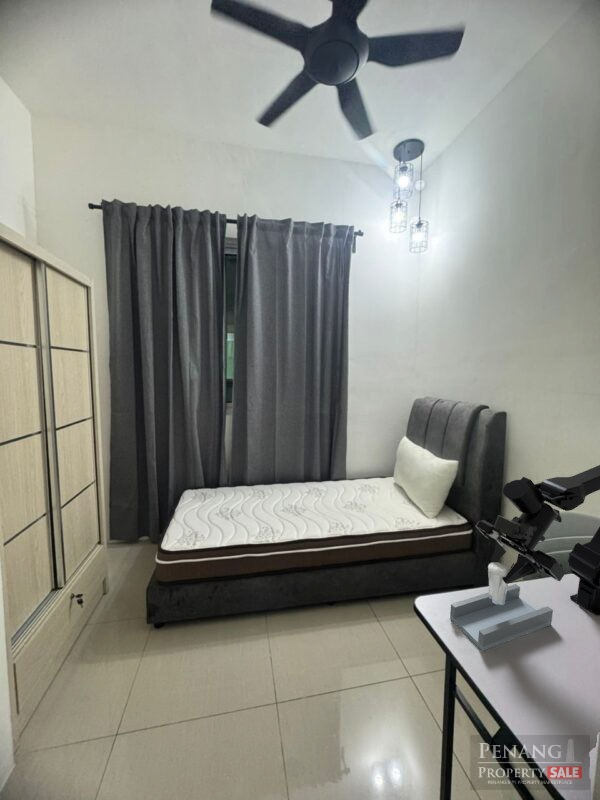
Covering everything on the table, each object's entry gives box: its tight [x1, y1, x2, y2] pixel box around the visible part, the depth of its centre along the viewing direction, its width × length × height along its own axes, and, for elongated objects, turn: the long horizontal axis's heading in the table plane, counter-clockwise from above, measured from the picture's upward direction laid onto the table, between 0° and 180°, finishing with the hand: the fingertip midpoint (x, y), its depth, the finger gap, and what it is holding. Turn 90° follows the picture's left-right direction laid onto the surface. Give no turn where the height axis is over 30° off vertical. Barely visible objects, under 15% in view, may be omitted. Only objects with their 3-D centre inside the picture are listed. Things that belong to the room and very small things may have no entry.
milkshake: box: [487, 561, 515, 605], centre depth 76 cm, size 5×5×10 cm
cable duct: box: [449, 583, 554, 652], centre depth 78 cm, size 22×9×4 cm, turn 109°
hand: (495, 575), depth 76 cm, fingers closed on milkshake, 4 cm apart
